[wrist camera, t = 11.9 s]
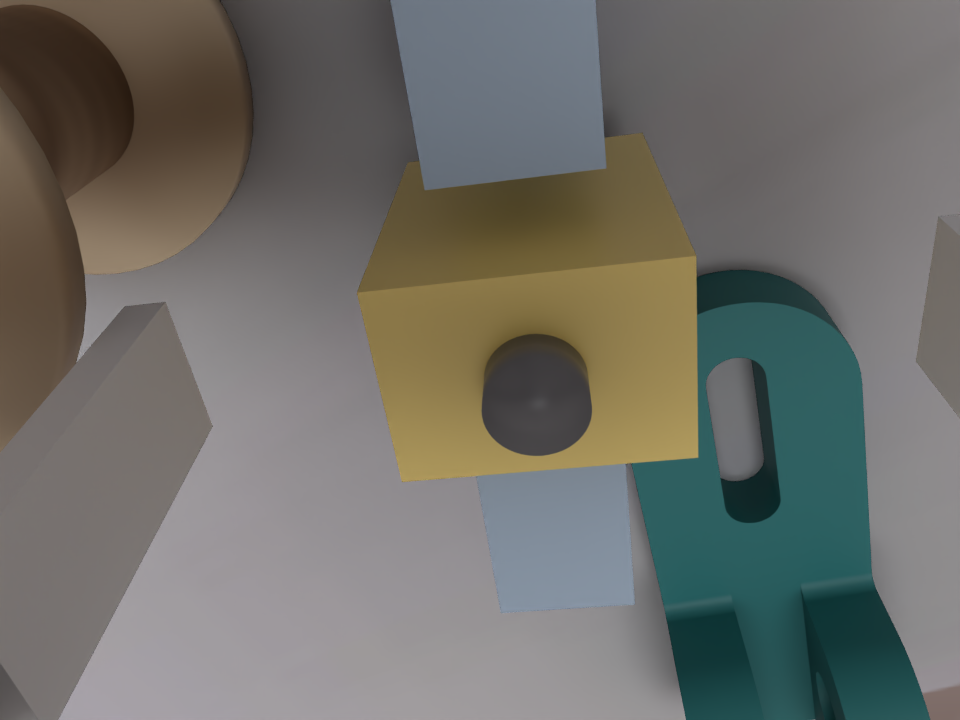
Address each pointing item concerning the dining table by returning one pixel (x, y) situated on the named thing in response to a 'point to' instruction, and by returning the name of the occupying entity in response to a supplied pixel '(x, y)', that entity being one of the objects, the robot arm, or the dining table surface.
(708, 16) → the dining table surface
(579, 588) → the notch board
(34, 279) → the bobbin
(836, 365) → the bracket
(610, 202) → the yellow block
